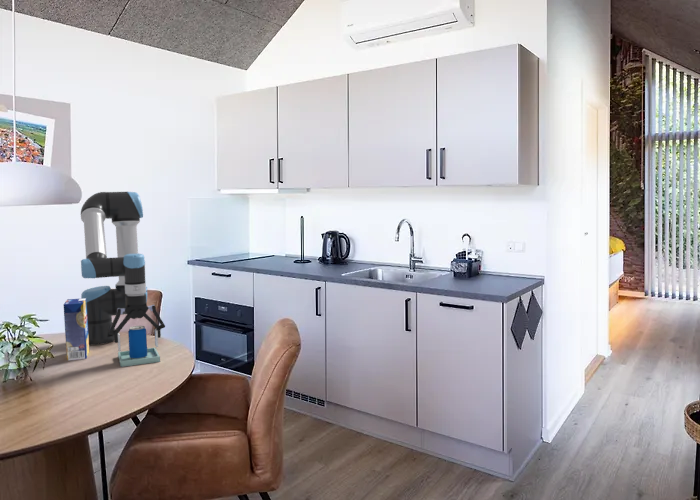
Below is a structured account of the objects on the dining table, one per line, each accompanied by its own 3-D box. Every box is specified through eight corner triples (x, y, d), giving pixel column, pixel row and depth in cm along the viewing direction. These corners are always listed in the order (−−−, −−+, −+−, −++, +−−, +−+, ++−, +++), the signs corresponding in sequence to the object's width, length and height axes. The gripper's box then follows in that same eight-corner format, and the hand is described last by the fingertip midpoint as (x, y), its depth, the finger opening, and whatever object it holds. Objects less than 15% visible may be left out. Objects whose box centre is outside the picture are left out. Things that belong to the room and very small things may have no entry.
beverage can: (150, 355, 220) (148, 325, 218) (142, 360, 213) (141, 329, 212) (134, 355, 220) (133, 325, 219) (126, 360, 214) (124, 329, 213)
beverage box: (89, 351, 228) (86, 298, 226) (86, 358, 218) (83, 303, 216) (70, 352, 226) (67, 299, 224) (66, 360, 216) (63, 304, 213)
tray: (118, 356, 220) (117, 352, 220) (155, 352, 226) (155, 347, 226) (120, 367, 208) (120, 361, 207) (160, 361, 214) (160, 356, 214)
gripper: (100, 298, 205) (103, 355, 208) (171, 293, 216) (173, 346, 219) (99, 295, 212) (102, 350, 214) (168, 289, 223) (170, 341, 225)
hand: (138, 348), depth 217 cm, fingers open, 13 cm apart
